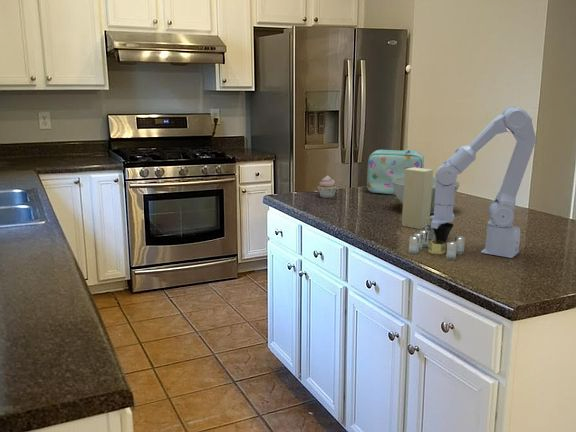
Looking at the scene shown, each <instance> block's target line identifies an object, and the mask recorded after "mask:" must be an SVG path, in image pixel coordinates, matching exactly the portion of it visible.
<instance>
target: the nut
mask: <svg viewBox="0 0 576 432" xmlns="http://www.w3.org/2000/svg"><path fill="white" fill-rule="evenodd" d="M427 252H429V253H430V254H432V255H443V254H446V252H447V242H444V241H441V240H431V239H430V240H428V247H427Z"/></svg>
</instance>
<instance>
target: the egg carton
mask: <svg viewBox="0 0 576 432" xmlns="http://www.w3.org/2000/svg"><path fill="white" fill-rule="evenodd" d="M423 230H428V231H429V235H428V240H430V241H431V240H436V236H435V232H434V230H433V228H431V223H429V224H426V222H425V228H423ZM447 241H449V237H448V238H447Z"/></svg>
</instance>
